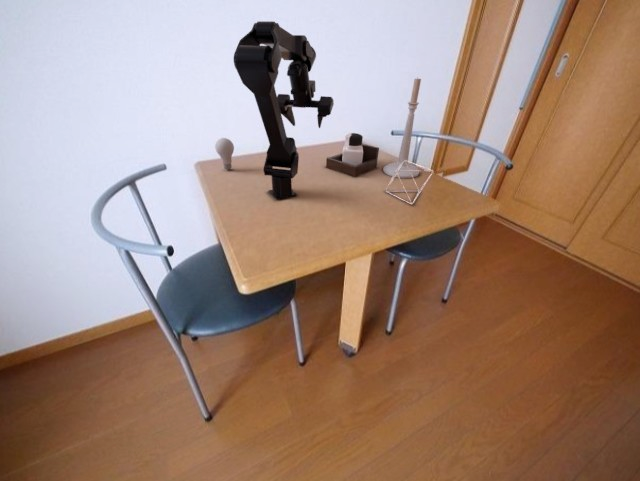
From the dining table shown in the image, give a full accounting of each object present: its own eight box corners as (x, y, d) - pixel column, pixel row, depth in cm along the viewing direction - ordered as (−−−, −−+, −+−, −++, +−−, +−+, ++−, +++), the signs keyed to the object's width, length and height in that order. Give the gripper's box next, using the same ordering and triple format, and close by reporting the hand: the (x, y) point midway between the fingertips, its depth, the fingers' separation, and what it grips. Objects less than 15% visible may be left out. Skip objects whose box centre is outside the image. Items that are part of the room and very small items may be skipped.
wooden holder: (354, 177, 99) (356, 155, 95) (326, 167, 106) (326, 147, 102) (376, 167, 107) (379, 147, 103) (348, 159, 114) (349, 140, 110)
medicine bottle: (360, 165, 109) (364, 132, 103) (361, 171, 103) (364, 137, 97) (342, 164, 110) (344, 131, 103) (341, 170, 104) (343, 136, 97)
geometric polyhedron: (380, 198, 85) (384, 168, 80) (390, 185, 93) (394, 157, 88) (422, 207, 80) (430, 177, 75) (429, 193, 89) (436, 164, 83)
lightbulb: (238, 171, 101) (233, 139, 94) (220, 173, 99) (214, 141, 93) (235, 166, 105) (231, 135, 99) (218, 168, 103) (212, 136, 97)
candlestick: (426, 175, 102) (449, 78, 85) (397, 180, 97) (416, 79, 80) (403, 164, 111) (419, 75, 95) (376, 168, 107) (388, 75, 90)
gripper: (335, 68, 88) (337, 113, 101) (278, 66, 91) (288, 109, 105) (328, 90, 83) (331, 134, 96) (267, 87, 86) (279, 130, 100)
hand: (307, 126), depth 99 cm, fingers open, 9 cm apart
